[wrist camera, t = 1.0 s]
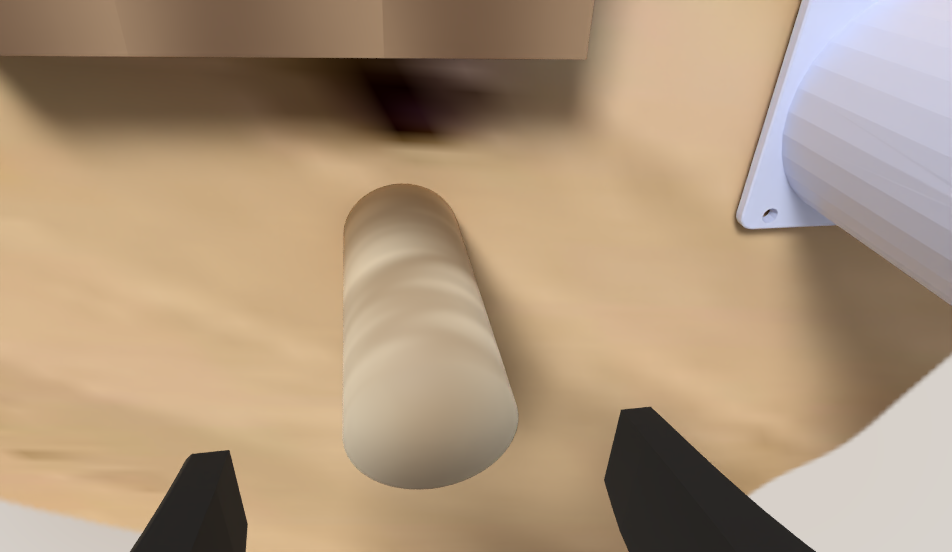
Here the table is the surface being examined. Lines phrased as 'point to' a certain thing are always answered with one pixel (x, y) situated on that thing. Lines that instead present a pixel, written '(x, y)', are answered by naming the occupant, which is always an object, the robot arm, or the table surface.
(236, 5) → the socket block
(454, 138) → the table surface
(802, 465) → the table surface
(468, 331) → the dowel
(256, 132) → the table surface
